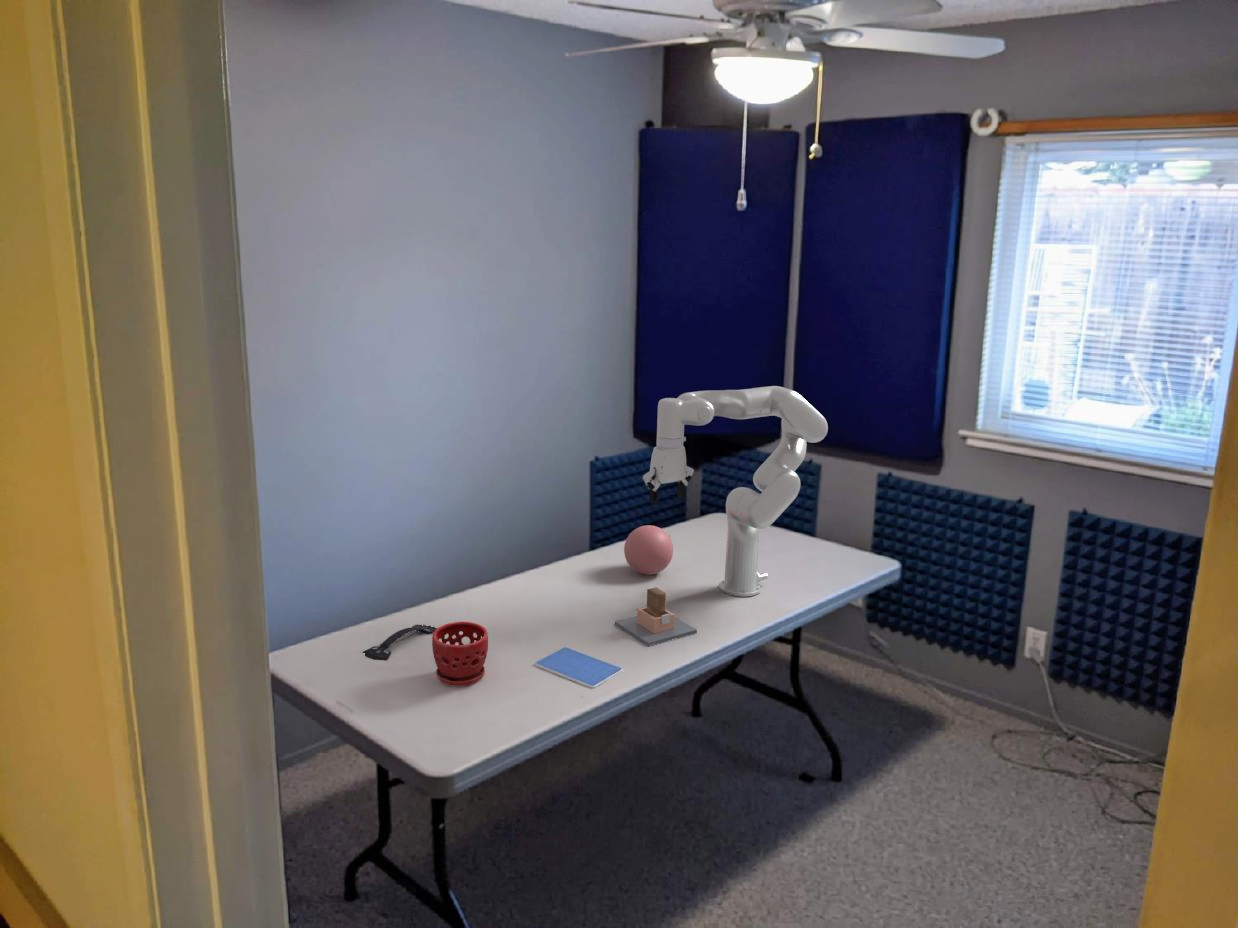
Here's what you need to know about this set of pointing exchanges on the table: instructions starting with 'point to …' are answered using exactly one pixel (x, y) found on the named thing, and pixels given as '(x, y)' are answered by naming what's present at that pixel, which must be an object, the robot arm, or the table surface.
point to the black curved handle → (382, 650)
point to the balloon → (648, 549)
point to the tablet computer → (578, 667)
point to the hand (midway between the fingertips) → (667, 500)
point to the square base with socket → (655, 627)
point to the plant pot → (460, 653)
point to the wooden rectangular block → (656, 602)
